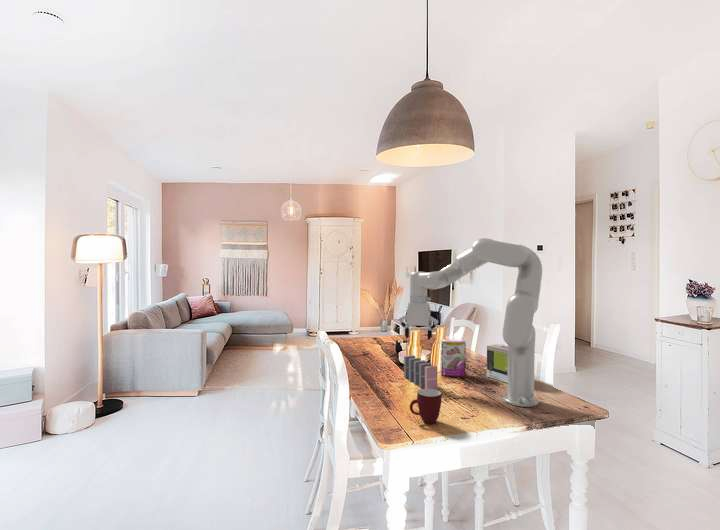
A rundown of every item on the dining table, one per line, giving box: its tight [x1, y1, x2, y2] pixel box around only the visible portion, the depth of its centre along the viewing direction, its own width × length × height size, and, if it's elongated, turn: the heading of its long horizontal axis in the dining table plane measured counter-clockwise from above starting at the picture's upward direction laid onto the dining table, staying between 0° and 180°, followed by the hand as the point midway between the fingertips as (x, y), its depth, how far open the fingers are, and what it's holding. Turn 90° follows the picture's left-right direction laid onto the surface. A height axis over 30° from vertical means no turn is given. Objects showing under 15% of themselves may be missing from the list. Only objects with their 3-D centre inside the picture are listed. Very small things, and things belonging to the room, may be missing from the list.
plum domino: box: [424, 365, 438, 390], centre depth 164 cm, size 2×5×10 cm, turn 111°
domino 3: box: [413, 359, 427, 386], centre depth 173 cm, size 2×5×10 cm, turn 110°
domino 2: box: [408, 357, 421, 383], centre depth 178 cm, size 2×5×10 cm, turn 110°
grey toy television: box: [486, 343, 508, 384], centre depth 179 cm, size 15×10×15 cm, turn 28°
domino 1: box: [403, 354, 416, 379], centre depth 182 cm, size 2×5×10 cm, turn 110°
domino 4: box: [418, 362, 432, 389], centre depth 169 cm, size 2×5×10 cm, turn 110°
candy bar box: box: [440, 339, 467, 377], centre depth 186 cm, size 11×5×16 cm, turn 84°
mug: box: [409, 388, 443, 425], centre depth 133 cm, size 10×8×10 cm
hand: (418, 338), depth 174 cm, fingers open, 9 cm apart
